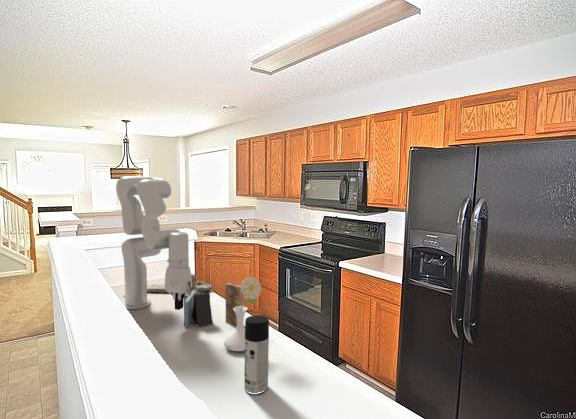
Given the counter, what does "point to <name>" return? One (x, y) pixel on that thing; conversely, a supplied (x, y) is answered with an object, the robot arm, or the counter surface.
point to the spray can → (256, 353)
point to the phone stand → (202, 310)
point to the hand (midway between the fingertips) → (179, 308)
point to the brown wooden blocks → (227, 299)
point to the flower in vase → (242, 314)
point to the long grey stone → (161, 289)
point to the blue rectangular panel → (189, 307)
